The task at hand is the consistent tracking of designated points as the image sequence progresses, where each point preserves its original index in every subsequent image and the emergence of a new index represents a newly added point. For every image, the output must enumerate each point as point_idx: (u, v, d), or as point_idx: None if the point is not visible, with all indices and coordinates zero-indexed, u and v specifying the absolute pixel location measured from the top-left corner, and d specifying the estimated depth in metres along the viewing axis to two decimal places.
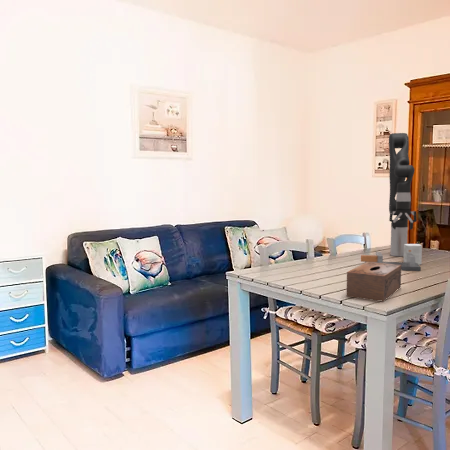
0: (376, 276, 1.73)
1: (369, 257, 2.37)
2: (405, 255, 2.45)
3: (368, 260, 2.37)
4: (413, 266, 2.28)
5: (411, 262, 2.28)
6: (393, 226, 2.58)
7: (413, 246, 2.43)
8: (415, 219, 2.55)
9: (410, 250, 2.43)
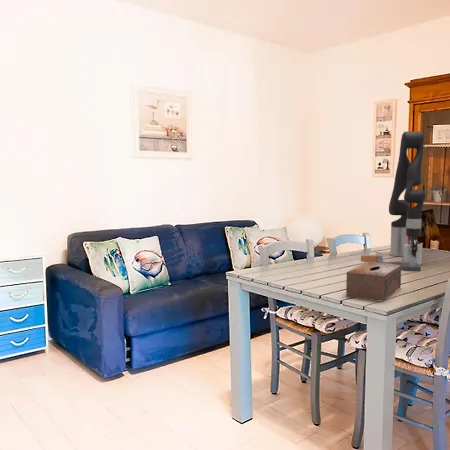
0: (376, 276, 1.73)
1: (369, 257, 2.37)
2: (405, 255, 2.45)
3: (368, 260, 2.37)
4: (413, 266, 2.28)
5: (411, 262, 2.28)
6: (415, 256, 2.42)
7: None
8: None
9: (410, 250, 2.43)
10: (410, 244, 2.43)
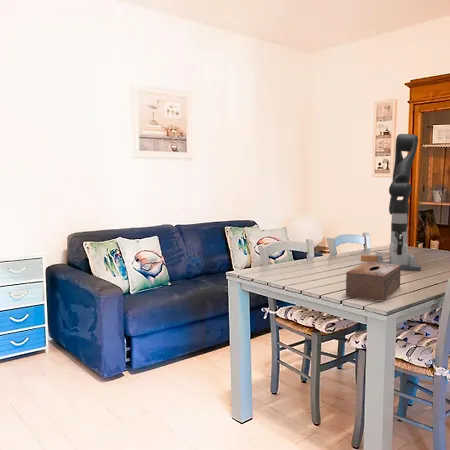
0: (375, 276, 1.73)
1: (369, 257, 2.37)
2: (390, 255, 2.34)
3: (368, 260, 2.37)
4: (413, 266, 2.28)
5: (411, 262, 2.28)
6: (401, 251, 2.29)
7: None
8: None
9: (395, 250, 2.31)
10: (395, 239, 2.31)
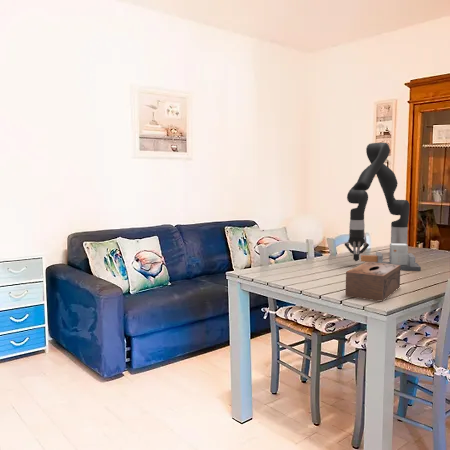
0: (375, 276, 1.73)
1: (369, 257, 2.37)
2: (390, 255, 2.34)
3: (368, 260, 2.37)
4: (413, 266, 2.28)
5: (411, 262, 2.28)
6: None
7: (398, 246, 2.31)
8: None
9: (395, 250, 2.31)
10: None
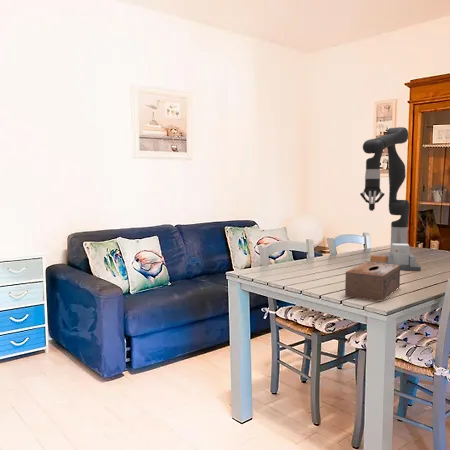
0: (375, 276, 1.73)
1: (379, 257, 2.35)
2: (392, 255, 2.34)
3: (377, 261, 2.36)
4: (413, 266, 2.28)
5: (411, 262, 2.28)
6: None
7: (400, 246, 2.31)
8: None
9: (396, 250, 2.31)
10: (375, 196, 2.40)
